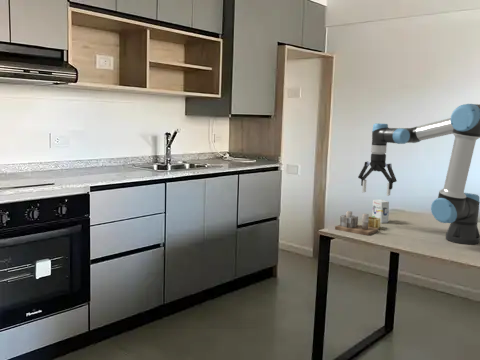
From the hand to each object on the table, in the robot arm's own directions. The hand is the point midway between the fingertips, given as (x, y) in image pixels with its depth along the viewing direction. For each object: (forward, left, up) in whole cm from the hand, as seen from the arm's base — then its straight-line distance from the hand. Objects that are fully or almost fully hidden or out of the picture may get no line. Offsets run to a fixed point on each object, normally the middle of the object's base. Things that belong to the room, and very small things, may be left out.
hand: (376, 193), depth 261 cm
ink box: (+14, -6, -18) cm, 23 cm away
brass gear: (-3, +2, -18) cm, 18 cm away
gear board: (-9, +11, -18) cm, 23 cm away
